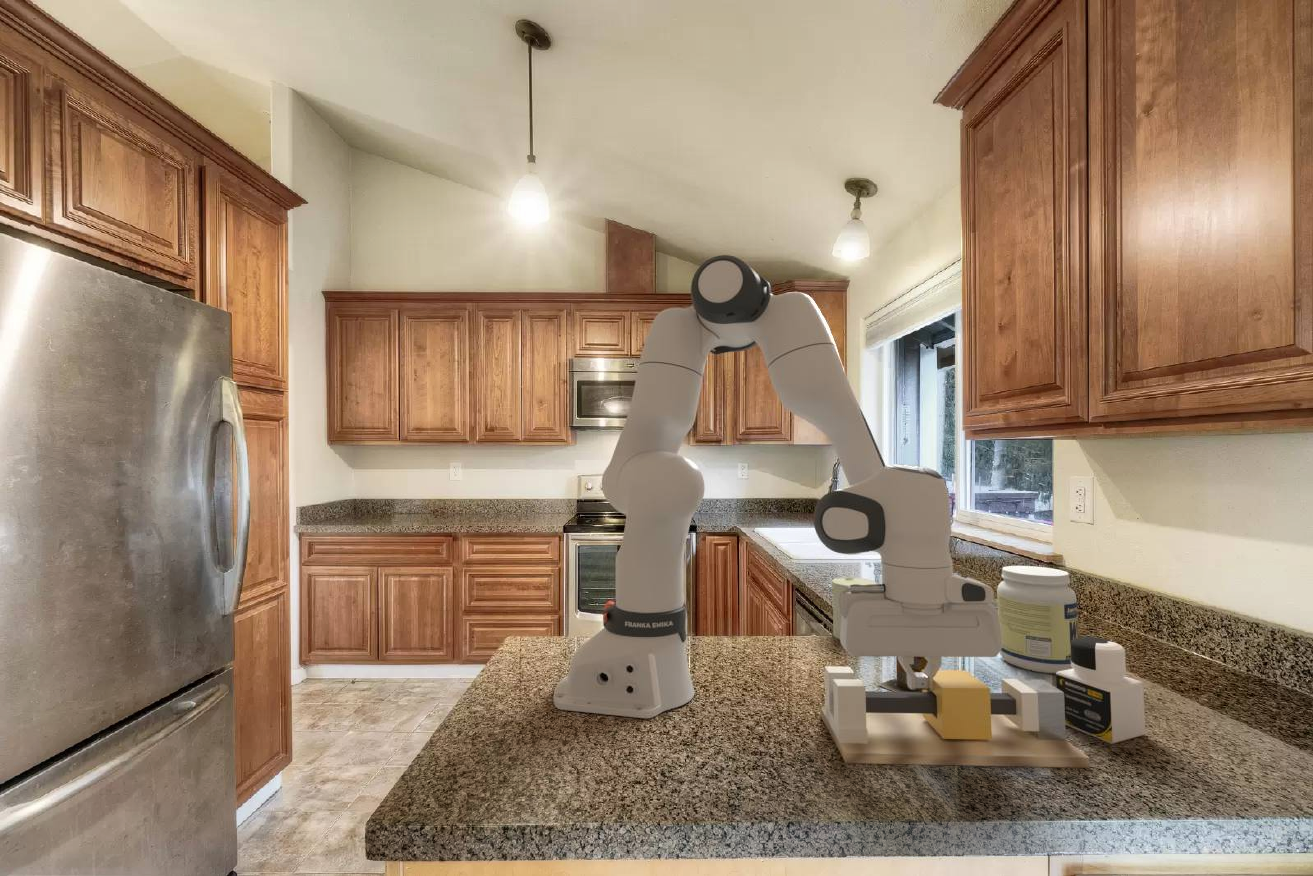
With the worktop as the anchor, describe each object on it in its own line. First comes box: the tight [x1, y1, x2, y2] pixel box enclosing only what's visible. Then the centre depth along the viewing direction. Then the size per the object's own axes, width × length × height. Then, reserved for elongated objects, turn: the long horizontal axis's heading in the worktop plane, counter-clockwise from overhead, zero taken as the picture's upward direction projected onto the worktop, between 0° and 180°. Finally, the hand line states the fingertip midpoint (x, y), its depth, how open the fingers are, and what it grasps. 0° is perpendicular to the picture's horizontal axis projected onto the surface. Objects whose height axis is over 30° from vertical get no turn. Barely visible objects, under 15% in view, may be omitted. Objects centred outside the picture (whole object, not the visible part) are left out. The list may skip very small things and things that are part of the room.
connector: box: [1016, 678, 1067, 741], centre depth 76 cm, size 3×4×6 cm
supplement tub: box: [996, 565, 1079, 674], centre depth 105 cm, size 12×12×17 cm
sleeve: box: [922, 669, 992, 740], centre depth 76 cm, size 6×6×6 cm
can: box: [831, 577, 878, 640], centre depth 122 cm, size 9×9×12 cm
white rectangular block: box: [1000, 678, 1039, 731], centre depth 76 cm, size 2×5×5 cm, turn 177°
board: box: [820, 707, 1091, 769], centre depth 76 cm, size 29×13×1 cm, turn 87°
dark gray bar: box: [833, 690, 1016, 715], centre depth 77 cm, size 26×2×2 cm, turn 87°
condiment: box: [877, 656, 928, 692], centre depth 94 cm, size 7×8×12 cm
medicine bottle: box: [1055, 636, 1146, 745], centre depth 79 cm, size 7×7×12 cm
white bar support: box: [824, 665, 868, 744], centre depth 77 cm, size 4×8×7 cm, turn 177°
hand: (920, 688), depth 77 cm, fingers closed
